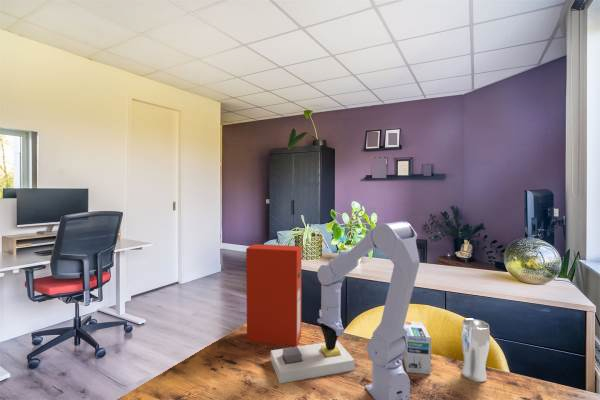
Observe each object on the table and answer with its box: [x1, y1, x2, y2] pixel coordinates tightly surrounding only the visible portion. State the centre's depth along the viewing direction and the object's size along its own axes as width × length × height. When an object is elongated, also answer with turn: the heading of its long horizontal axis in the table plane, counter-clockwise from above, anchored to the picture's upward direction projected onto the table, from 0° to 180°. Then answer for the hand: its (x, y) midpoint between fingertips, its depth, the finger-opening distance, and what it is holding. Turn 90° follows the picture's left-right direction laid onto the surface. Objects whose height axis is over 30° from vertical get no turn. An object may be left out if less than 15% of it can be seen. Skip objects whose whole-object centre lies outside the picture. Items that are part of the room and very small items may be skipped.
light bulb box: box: [402, 320, 432, 375], centre depth 95 cm, size 11×7×11 cm, turn 171°
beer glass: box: [460, 318, 491, 383], centre depth 89 cm, size 7×7×15 cm
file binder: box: [245, 243, 302, 347], centre depth 110 cm, size 8×17×32 cm, turn 78°
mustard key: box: [321, 345, 340, 358], centre depth 96 cm, size 4×4×3 cm
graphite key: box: [282, 346, 301, 364], centre depth 93 cm, size 4×4×3 cm
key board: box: [270, 340, 356, 384], centre depth 95 cm, size 12×22×3 cm, turn 107°
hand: (330, 348), depth 96 cm, fingers closed, pressing on mustard key
